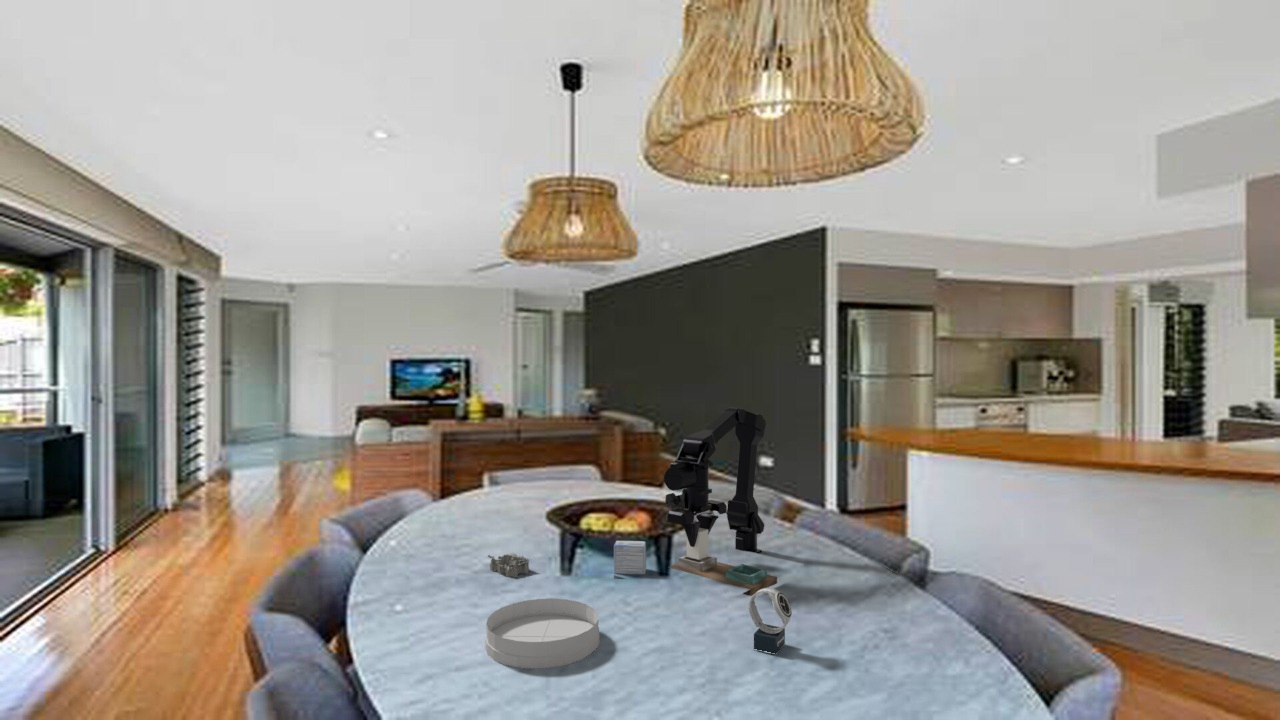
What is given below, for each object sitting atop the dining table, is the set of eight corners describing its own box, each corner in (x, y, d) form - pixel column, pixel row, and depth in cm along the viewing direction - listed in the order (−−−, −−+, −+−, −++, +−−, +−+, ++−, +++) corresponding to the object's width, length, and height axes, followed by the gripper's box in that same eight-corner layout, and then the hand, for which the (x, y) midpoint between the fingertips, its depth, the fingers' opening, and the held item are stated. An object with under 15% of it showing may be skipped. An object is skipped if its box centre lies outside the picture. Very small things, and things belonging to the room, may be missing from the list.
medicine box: (646, 574, 172) (646, 541, 172) (644, 580, 168) (644, 545, 168) (615, 573, 173) (615, 540, 173) (613, 579, 169) (613, 545, 169)
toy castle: (485, 570, 177) (485, 554, 177) (509, 563, 182) (509, 548, 182) (509, 579, 169) (508, 563, 169) (533, 572, 175) (533, 556, 175)
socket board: (696, 562, 183) (696, 549, 183) (777, 583, 166) (777, 568, 166) (668, 572, 174) (668, 559, 174) (750, 595, 157) (750, 580, 157)
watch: (785, 657, 125) (786, 598, 125) (745, 648, 129) (745, 590, 129) (794, 646, 130) (795, 589, 130) (755, 637, 134) (755, 582, 134)
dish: (500, 621, 143) (500, 597, 143) (604, 622, 142) (604, 598, 142) (471, 669, 121) (471, 641, 121) (593, 671, 120) (593, 643, 120)
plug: (695, 553, 178) (696, 526, 178) (708, 556, 175) (708, 529, 175) (686, 556, 175) (686, 529, 175) (698, 559, 172) (698, 532, 172)
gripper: (694, 476, 187) (694, 532, 187) (650, 486, 173) (650, 546, 173) (727, 481, 180) (727, 539, 180) (684, 491, 166) (684, 555, 166)
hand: (697, 544), depth 175 cm, fingers closed on plug, 4 cm apart
